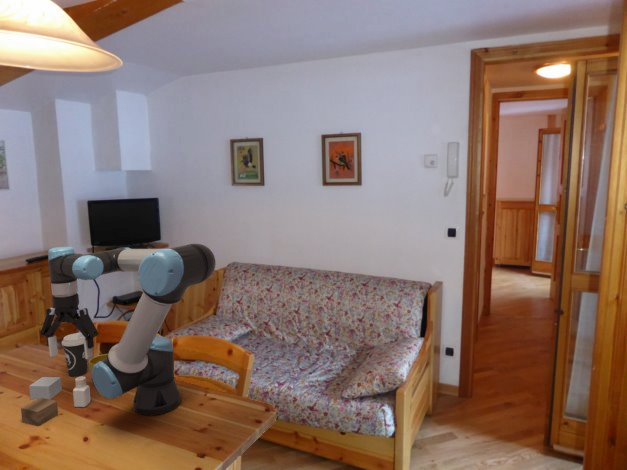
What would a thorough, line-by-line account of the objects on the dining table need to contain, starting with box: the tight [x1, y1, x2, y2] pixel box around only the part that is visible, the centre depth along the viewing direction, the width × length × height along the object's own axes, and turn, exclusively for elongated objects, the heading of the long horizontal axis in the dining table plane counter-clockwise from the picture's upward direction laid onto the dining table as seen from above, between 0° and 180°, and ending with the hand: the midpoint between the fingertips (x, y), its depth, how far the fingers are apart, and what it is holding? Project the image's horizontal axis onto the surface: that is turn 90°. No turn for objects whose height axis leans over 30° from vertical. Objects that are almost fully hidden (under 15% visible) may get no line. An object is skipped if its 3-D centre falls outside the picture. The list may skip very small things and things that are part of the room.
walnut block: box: [20, 398, 59, 427], centre depth 145 cm, size 7×7×5 cm
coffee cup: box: [61, 332, 88, 378], centre depth 177 cm, size 10×10×15 cm
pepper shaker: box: [72, 375, 92, 408], centre depth 153 cm, size 4×4×10 cm
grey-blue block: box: [28, 376, 63, 400], centre depth 160 cm, size 7×7×5 cm
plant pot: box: [87, 353, 108, 373], centre depth 168 cm, size 10×10×10 cm
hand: (71, 356), depth 151 cm, fingers open, 13 cm apart
